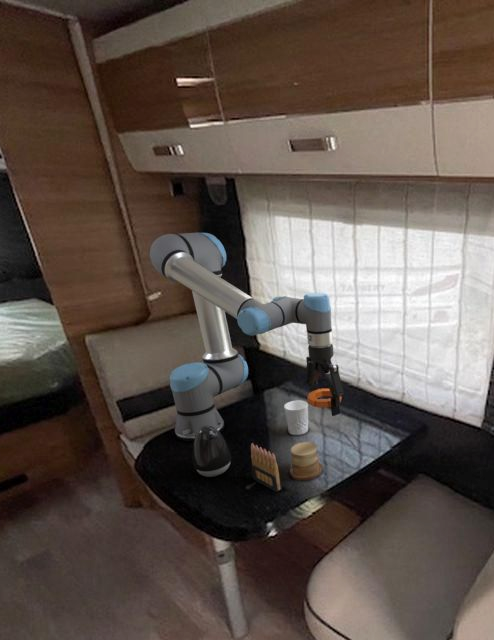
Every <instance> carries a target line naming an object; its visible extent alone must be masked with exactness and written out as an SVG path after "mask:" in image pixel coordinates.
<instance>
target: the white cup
mask: <svg viewBox="0 0 494 640" xmlns="http://www.w3.org/2000/svg"><path fill="white" fill-rule="evenodd" d="M283 409H284V415H285V420H286V425H287V430H288V433H289V435H292V436H301V435H305V434H306V433H307V432H308V431H309V404H308V401H305V400H301V399H299V400H291V401H288V402H286V403H285V404H284V405H283Z"/></svg>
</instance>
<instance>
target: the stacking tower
mask: <svg viewBox="0 0 494 640" xmlns="http://www.w3.org/2000/svg"><path fill="white" fill-rule="evenodd" d="M290 454H291V460H290V461H291V467H290V469H289V474H290V476H291V478H292V479H294V480H296V481H303V482H304V481H310V480H313V479H316V478H317V477H319V476H320V475H321V473H322V471H323V466H322V464H321V463H320V458H319V455H318V446H317V444H316V443H314V442H310V441H302V442H298V443H296V444H294V445H293V446H291V448H290Z"/></svg>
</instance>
